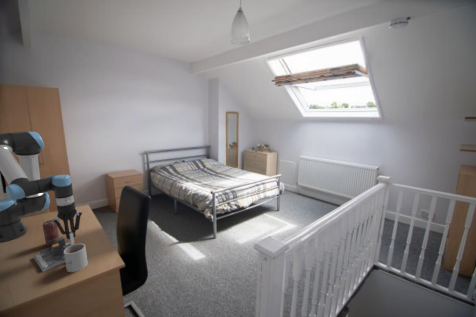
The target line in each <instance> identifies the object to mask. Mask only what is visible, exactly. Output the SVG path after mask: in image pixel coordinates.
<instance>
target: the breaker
mask: <svg viewBox="0 0 476 317" xmlns="http://www.w3.org/2000/svg"><path fill="white" fill-rule="evenodd" d="M56 242H57V243H59V245H60V248H63V246H65V243H66V239H65V237H63V236H61V237H59V238H58V239H56Z"/></svg>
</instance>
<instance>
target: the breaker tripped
mask: <svg viewBox="0 0 476 317" xmlns="http://www.w3.org/2000/svg"><path fill="white" fill-rule="evenodd" d="M50 248H52V253H53V255H54V256H56V255H59V254H61V248H60V245H59V243H57V244H54V245H52V246H51V247H50Z"/></svg>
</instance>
